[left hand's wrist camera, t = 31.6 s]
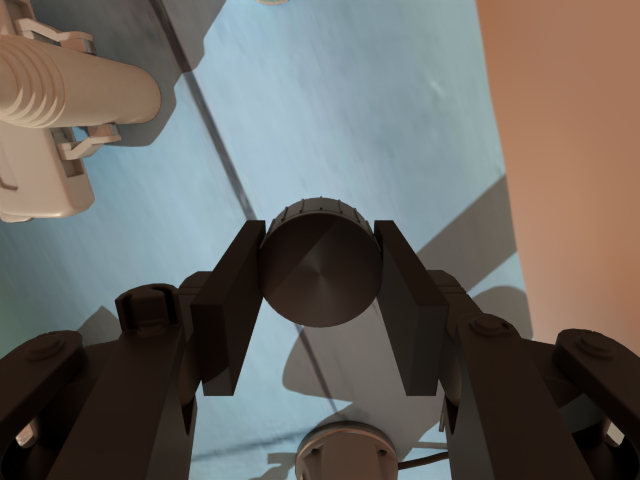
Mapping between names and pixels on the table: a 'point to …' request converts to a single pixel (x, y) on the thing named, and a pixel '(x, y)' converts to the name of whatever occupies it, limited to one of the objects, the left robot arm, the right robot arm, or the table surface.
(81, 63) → the bottle
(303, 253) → the cap
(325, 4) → the table surface
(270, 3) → the pill bottle
